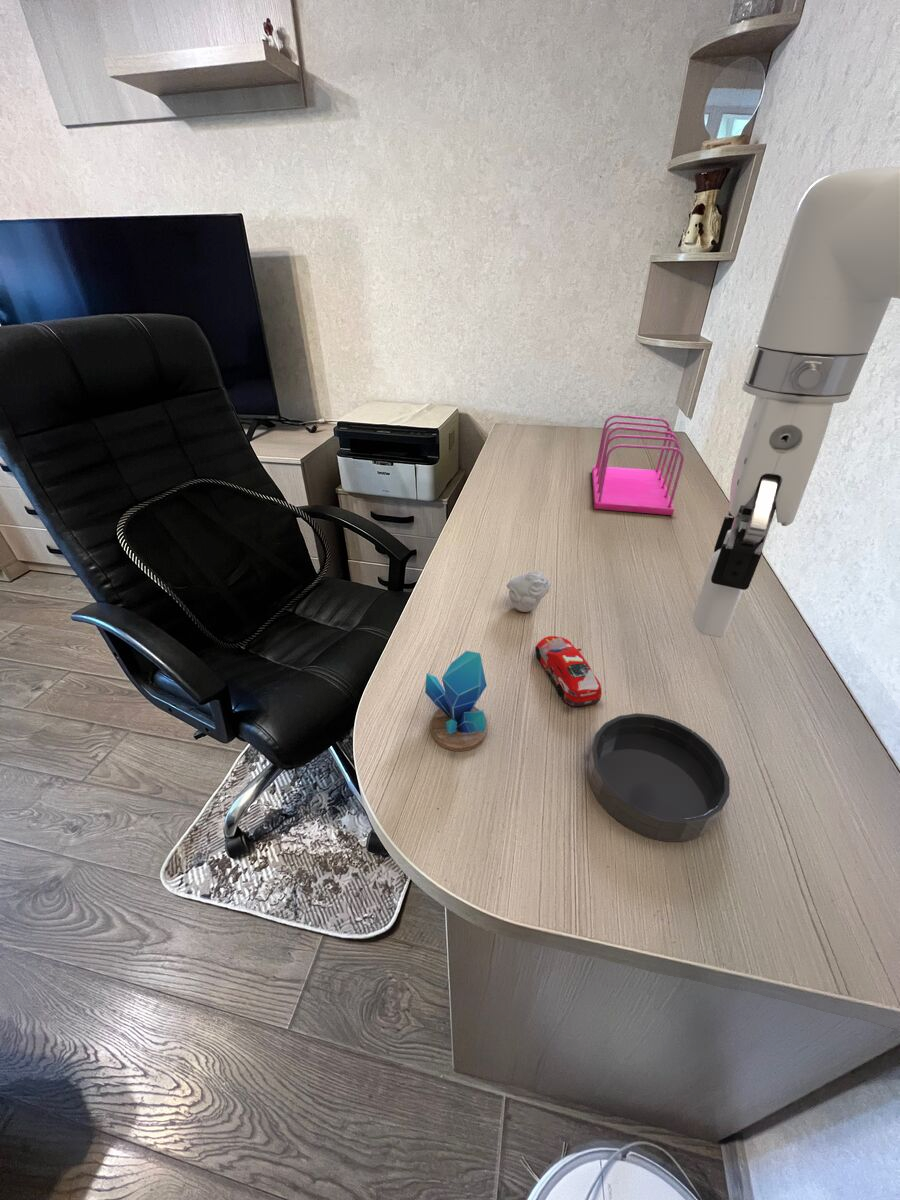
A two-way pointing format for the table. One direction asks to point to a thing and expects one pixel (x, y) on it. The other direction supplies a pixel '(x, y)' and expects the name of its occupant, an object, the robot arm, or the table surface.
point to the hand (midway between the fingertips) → (729, 568)
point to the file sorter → (635, 474)
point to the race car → (568, 671)
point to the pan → (657, 777)
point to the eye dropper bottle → (716, 601)
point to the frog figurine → (528, 590)
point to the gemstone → (458, 704)
